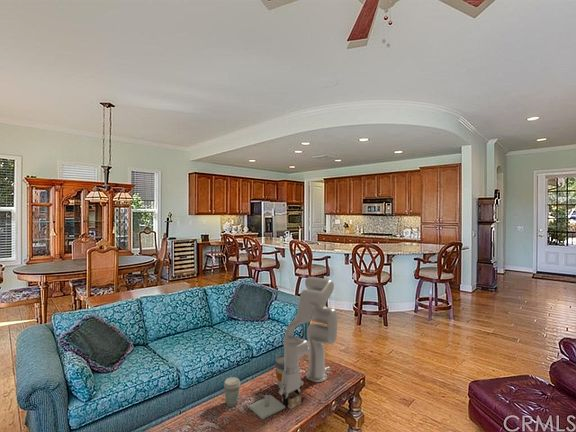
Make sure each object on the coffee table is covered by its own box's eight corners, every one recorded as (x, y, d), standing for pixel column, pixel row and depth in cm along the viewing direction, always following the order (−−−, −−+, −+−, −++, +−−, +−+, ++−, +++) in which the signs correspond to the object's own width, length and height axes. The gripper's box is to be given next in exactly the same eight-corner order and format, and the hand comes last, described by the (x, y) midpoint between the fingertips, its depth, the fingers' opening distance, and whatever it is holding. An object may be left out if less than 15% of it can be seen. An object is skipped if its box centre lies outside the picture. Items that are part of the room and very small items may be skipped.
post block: (271, 396, 172) (271, 385, 172) (285, 407, 163) (285, 396, 163) (248, 407, 163) (248, 395, 163) (262, 419, 154) (262, 407, 154)
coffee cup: (224, 410, 161) (224, 386, 161) (223, 400, 169) (223, 377, 169) (241, 407, 163) (241, 384, 163) (239, 397, 172) (239, 375, 171)
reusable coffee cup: (298, 380, 188) (298, 355, 188) (296, 392, 176) (296, 366, 175) (276, 379, 190) (276, 354, 189) (273, 391, 177) (273, 364, 177)
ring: (292, 397, 172) (292, 390, 172) (300, 403, 166) (300, 396, 166) (281, 402, 167) (281, 395, 167) (290, 409, 162) (290, 401, 162)
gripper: (299, 360, 175) (299, 392, 175) (273, 370, 164) (273, 405, 164) (308, 365, 169) (308, 398, 169) (282, 376, 158) (282, 412, 158)
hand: (291, 401), depth 167 cm, fingers closed on ring, 7 cm apart
